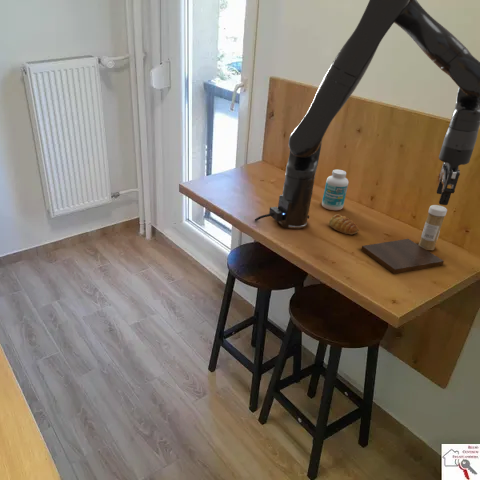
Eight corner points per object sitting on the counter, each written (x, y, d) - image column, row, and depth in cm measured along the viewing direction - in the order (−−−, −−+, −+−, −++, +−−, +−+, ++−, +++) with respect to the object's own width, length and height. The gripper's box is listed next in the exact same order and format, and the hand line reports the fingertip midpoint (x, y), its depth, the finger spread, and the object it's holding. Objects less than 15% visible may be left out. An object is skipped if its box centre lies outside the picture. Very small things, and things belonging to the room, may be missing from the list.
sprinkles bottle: (437, 248, 144) (450, 208, 138) (429, 252, 142) (442, 211, 136) (423, 242, 148) (435, 203, 141) (414, 246, 145) (426, 206, 139)
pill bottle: (320, 209, 169) (327, 173, 163) (322, 201, 175) (329, 166, 169) (342, 212, 167) (350, 176, 160) (343, 204, 173) (351, 169, 166)
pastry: (362, 232, 153) (365, 222, 151) (348, 237, 150) (351, 227, 148) (339, 221, 160) (341, 211, 158) (325, 226, 157) (327, 216, 155)
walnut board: (393, 273, 131) (394, 269, 130) (361, 250, 143) (362, 245, 142) (442, 265, 136) (444, 260, 135) (407, 242, 147) (408, 238, 147)
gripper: (440, 136, 137) (425, 188, 144) (445, 150, 125) (428, 206, 133) (470, 139, 134) (453, 192, 142) (478, 153, 122) (459, 210, 130)
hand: (441, 199), depth 137 cm, fingers open, 8 cm apart
